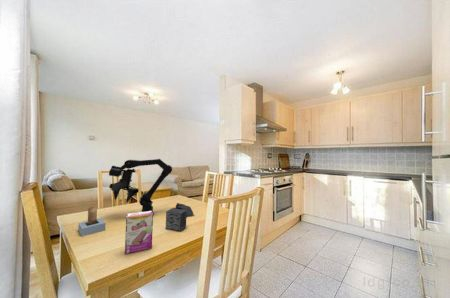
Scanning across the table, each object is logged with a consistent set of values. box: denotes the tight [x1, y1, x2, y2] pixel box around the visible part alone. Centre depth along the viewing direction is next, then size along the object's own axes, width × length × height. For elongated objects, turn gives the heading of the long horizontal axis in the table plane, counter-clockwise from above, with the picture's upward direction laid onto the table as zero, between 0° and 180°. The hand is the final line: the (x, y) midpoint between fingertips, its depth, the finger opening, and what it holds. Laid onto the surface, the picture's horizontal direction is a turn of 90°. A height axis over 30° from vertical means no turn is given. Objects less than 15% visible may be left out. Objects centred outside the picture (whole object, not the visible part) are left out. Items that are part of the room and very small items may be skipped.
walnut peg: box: [87, 206, 98, 226], centre depth 98 cm, size 4×4×12 cm
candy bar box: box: [124, 211, 154, 255], centre depth 80 cm, size 11×5×16 cm, turn 118°
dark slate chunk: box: [170, 202, 195, 218], centre depth 129 cm, size 15×22×5 cm
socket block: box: [77, 217, 106, 237], centre depth 98 cm, size 10×10×4 cm
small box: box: [165, 208, 187, 233], centre depth 102 cm, size 11×6×10 cm, turn 71°
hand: (121, 201), depth 117 cm, fingers open, 9 cm apart
